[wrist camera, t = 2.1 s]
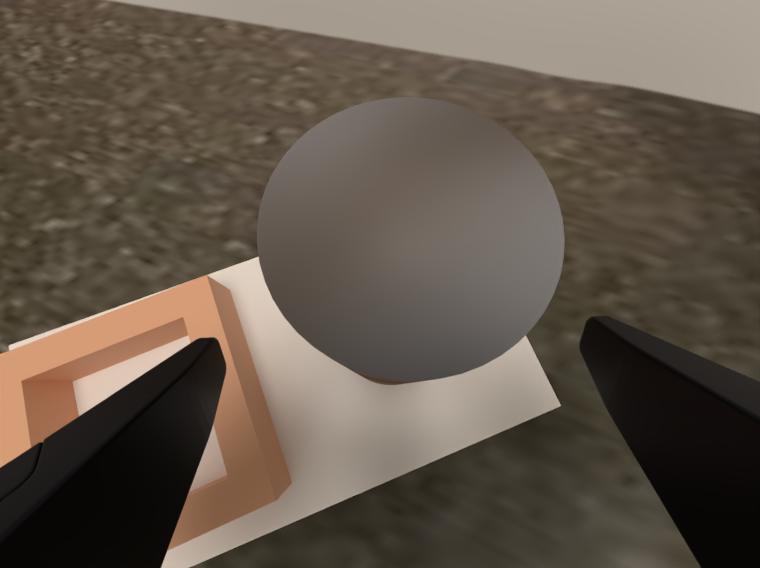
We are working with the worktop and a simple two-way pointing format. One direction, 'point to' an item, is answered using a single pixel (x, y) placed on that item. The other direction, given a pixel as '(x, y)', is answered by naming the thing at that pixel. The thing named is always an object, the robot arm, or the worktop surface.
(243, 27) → the worktop surface
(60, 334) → the socket
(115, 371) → the mount board
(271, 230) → the gray-capped wooden tube
